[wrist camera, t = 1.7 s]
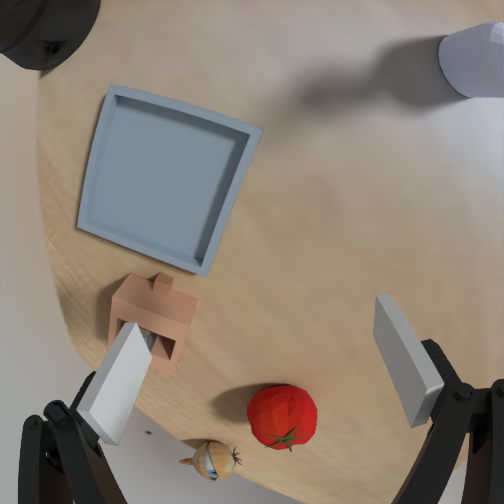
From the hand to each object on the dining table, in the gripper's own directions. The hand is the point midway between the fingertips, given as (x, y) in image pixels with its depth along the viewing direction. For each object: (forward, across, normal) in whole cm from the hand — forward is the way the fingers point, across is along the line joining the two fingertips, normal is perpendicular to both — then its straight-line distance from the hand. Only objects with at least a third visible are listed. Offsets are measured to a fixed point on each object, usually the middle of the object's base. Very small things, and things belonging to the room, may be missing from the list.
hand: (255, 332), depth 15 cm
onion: (+21, -18, -49) cm, 57 cm away
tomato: (+21, 0, -32) cm, 38 cm away
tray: (+21, -10, +7) cm, 24 cm away
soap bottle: (+21, +30, +18) cm, 41 cm away
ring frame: (+21, -16, -12) cm, 29 cm away
